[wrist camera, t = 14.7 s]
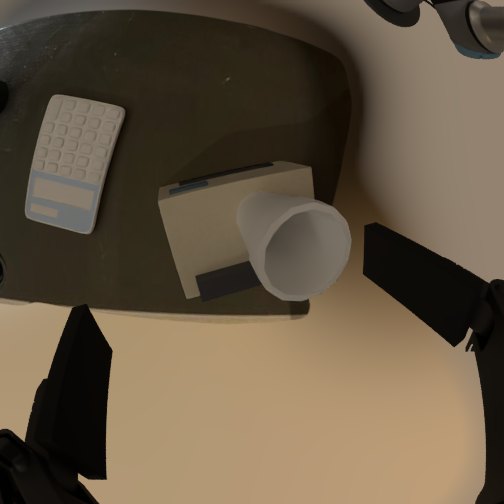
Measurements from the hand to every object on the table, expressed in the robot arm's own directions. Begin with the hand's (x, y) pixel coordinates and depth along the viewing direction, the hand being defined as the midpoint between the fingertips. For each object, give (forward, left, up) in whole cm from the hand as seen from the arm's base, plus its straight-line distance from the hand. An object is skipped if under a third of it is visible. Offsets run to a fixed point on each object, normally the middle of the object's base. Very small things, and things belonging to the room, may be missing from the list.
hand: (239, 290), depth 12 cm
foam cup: (-8, +5, -23) cm, 25 cm away
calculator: (+17, -8, -33) cm, 38 cm away
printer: (-6, +7, -33) cm, 34 cm away
